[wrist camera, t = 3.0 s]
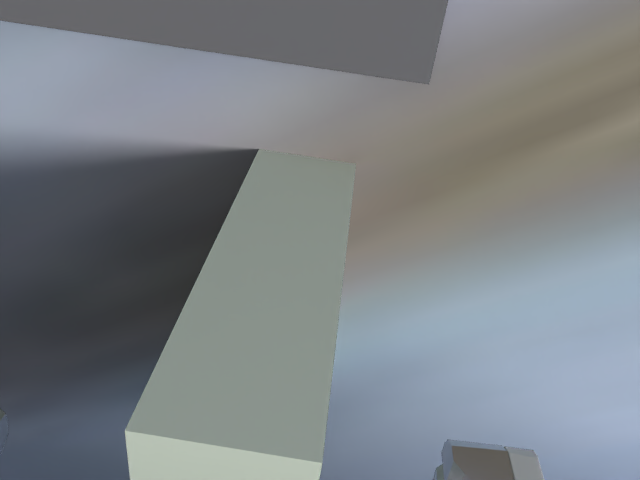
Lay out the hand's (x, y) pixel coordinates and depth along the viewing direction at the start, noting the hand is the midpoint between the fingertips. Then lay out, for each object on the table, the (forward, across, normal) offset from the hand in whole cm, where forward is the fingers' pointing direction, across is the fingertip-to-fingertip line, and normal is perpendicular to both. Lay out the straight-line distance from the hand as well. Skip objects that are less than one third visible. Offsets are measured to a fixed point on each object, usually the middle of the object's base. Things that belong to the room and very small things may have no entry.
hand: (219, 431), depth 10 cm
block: (+4, -1, -1) cm, 4 cm away
